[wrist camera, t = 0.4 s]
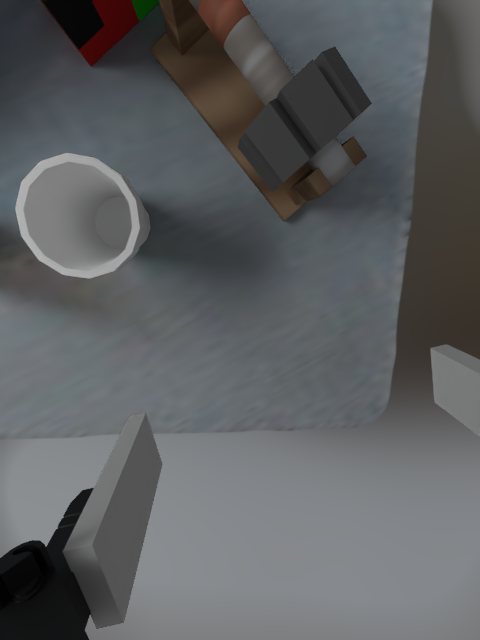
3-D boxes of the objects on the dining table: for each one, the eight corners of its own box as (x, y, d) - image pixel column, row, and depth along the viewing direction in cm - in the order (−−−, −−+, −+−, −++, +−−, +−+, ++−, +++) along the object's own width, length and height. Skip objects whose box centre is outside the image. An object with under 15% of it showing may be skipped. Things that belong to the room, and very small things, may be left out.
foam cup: (147, 170, 38) (113, 137, 25) (175, 250, 40) (156, 257, 28) (67, 195, 38) (-7, 176, 25) (100, 274, 40) (47, 291, 28)
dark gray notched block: (235, 156, 34) (243, 124, 24) (312, 84, 33) (352, 22, 23) (266, 195, 35) (285, 181, 26) (341, 128, 34) (391, 86, 24)
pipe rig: (152, 54, 35) (123, -30, 24) (217, -11, 34) (217, -130, 23) (283, 220, 40) (309, 215, 29) (342, 168, 39) (392, 142, 28)
